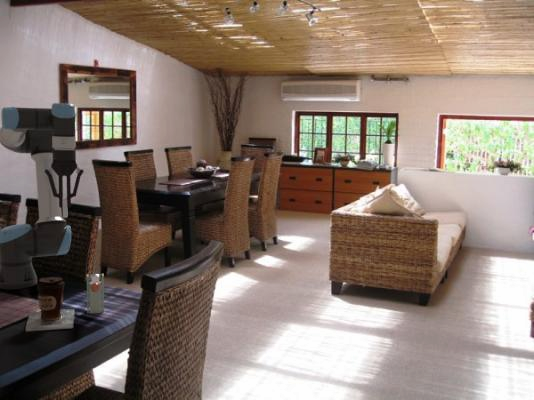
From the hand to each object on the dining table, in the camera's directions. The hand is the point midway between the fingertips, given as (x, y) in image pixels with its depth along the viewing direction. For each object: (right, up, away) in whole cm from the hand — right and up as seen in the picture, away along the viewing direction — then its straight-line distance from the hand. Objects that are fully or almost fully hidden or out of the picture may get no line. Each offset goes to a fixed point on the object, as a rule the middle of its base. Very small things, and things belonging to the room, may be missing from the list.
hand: (65, 216), depth 202 cm
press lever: (+13, -23, -7) cm, 28 cm away
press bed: (-1, -34, -12) cm, 36 cm away
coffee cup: (-1, -33, -12) cm, 35 cm away
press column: (+11, -33, 0) cm, 35 cm away
